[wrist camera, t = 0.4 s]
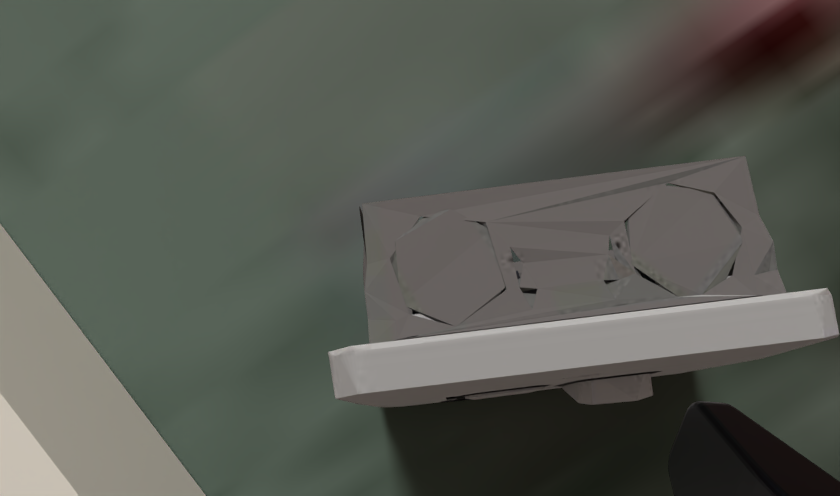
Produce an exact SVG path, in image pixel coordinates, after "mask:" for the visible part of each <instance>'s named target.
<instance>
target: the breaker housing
mask: <svg viewBox="0 0 840 496" xmlns="http://www.w3.org/2000/svg"><path fill="white" fill-rule="evenodd" d="M0 496H206V495H205V494H204V493H203V491H202V490H201V489H200V487H199V486H198V485H197V483H196V482H195V481H194V479H193V478H192V477H191V475H190V474H189V473H188V471H187V470H186V469H185V467H184V466H183V465H182V464H181V462H180V461H179V460H178V458H177V457H176V456H175V454H174V453H173V452H172V450H171V449H170V448H169V446H168V445H167V444H166V442H165V441H164V440H163V438H162V437H161V436H160V434H159V433H158V432H157V430H156V429H155V428H154V426H153V425H152V424H151V422H150V421H149V420H148V419H147V417H146V416H145V415H144V413H143V412H142V411H141V409H140V408H139V407H138V405H137V404H136V403H135V401H134V400H133V399H132V397H131V396H130V395H129V393H128V392H127V391H126V389H125V388H124V387H123V385H122V384H121V383H120V381H119V380H118V379H117V378H116V376H115V375H114V374H113V372H112V371H111V370H110V368H109V367H108V366H107V364H106V363H105V362H104V360H103V359H102V358H101V356H100V355H99V354H98V352H97V351H96V350H95V348H94V347H93V346H92V344H91V343H90V342H89V340H88V339H87V338H86V336H85V335H84V334H83V333H82V331H81V330H80V329H79V327H78V326H77V325H76V323H75V322H74V321H73V319H72V318H71V317H70V315H69V314H68V313H67V311H66V310H65V309H64V307H63V306H62V305H61V303H60V302H59V301H58V299H57V298H56V297H55V295H54V294H53V293H52V292H51V290H50V289H49V288H48V286H47V285H46V284H45V282H44V281H43V280H42V278H41V277H40V276H39V274H38V273H37V272H36V270H35V269H34V268H33V266H32V265H31V264H30V262H29V261H28V260H27V258H26V257H25V256H24V254H23V253H22V252H21V250H20V249H19V248H18V247H17V245H16V244H15V243H14V241H13V240H12V239H11V237H10V236H9V235H8V233H7V232H6V231H5V229H4V228H3V227H2V225H1V224H0Z"/></svg>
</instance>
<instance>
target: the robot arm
mask: <svg viewBox="0 0 840 496" xmlns="http://www.w3.org/2000/svg"><path fill="white" fill-rule="evenodd" d="M668 469H669V476H670V481H671V485H672V489H673V493H674V496H840V482H839V481H838V480H837V479H835V478H834V477H832V476H831V475H829V474H828V473H827V472H825V471H824V470H822V469H821V468H820V467H818V466H817V465H815V464H814V463H812V462H811V461H810V460H808V459H807V458H805V457H804V456H803V455H801V454H800V453H798V452H797V451H795V450H794V449H793V448H791V447H790V446H788V445H787V444H786V443H784V442H783V441H781V440H780V439H778V438H777V437H776V436H774V435H773V434H771V433H770V432H769V431H767V430H766V429H764V428H763V427H761V426H760V425H759V424H757V423H756V422H754V421H753V420H752V419H750V418H749V417H747V416H746V415H744V414H743V413H742V412H740V411H739V410H737V409H736V408H734V407H733V406H731V405H729V404H726V403H717V402H702V401H698V402H695V403H693V404H691V405H690V406H689V407H688V409H687V411H686V413H685V416H684V418H683V421H682V423H681V426H680V428H679V431H678V433H677V436H676V439H675V441H674V444H673V446H672V449H671V451H670V455H669V461H668Z"/></svg>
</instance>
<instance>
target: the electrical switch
mask: <svg viewBox="0 0 840 496" xmlns="http://www.w3.org/2000/svg"><path fill="white" fill-rule="evenodd" d="M667 183H670V184H673V185H676V186H679V187H674V186H665V185H666V184H667ZM359 209H360V207H359ZM362 209H363V214H362V211H361V209H360V216H361V223H362V231H363V238H364V262H363V277H364V292H365V300H366V308H367V315H368V328H369V344H365V345H356V346H349V347H345V348H342V349H338V350H334V351H330V352H328V355H329V360H330V366H331V373H332V379H333V386H334V393H335V399H339V400H343V401H348V402H352V403H356V404H362V405H369V406H376V407H403V406H412V405H421V404H430V403H438V402H452V401H462V400H470V399H472V400H477V399H484V398H492V397H499V396H507V395H515V394H523V393H530V392H534V391H539V390H547V389H555V388H563V390H564V391H566V392H567V393H568V394H569V395H570V396H571V397H572V398H573V399H574V400H576V401H577V402H578V403H581V404H589V405H595V404H606V403H617V402H628V401H638V400H641V399H644V398H647V397H650V396H653V390H652V382H651V377H655V376H663V375H671V374H679V373H685V372H690V371H695V370H701V369H707V368H712V367H718V366H723V365H729V364H734V363H740V362H746V361H751V360H757V359H762V358H766V357H769V356H773V355H776V354H780V353H783V352H787V351H790V350H794V349H797V348H801V347H804V346H808V345H811V344H815V343H818V342H822V341H825V340H829V339H832V338H836V337H838V335H839V331H838V325H837V320H836V315H835V310H834V304H833V299H832V295H831V293H830V292H829V290H828V288H824V289H816V290H808V291H800V292H792V293H787V292H786V290H785V287H784V285H783V282H782V280H781V277H780V275H779V272H778V270H777V263H776V256H775V249H774V242H773V240H772V238H771V236H770V234H769V232H768V231H767V229H766V227H765V225H764V223H763V221H762V220H761V218H760V216H759V212H758V207H757V203H756V199H755V194H754V190H753V186H752V181H751V177H750V173H749V168H748V164H747V160H746V156H740V157H732V158H724V159H716V160H708V161H700V162H692V163H684V164H676V165H668V166H660V167H652V168H644V169H636V170H628V171H620V172H612V173H604V174H596V175H588V176H580V177H572V178H564V179H556V180H548V181H540V182H532V183H524V184H516V185H508V186H500V187H491V188H483V189H475V190H467V191H459V192H451V193H443V194H435V195H427V196H419V197H411V198H403V199H395V200H387V201H379V202H371V203H363V204H362ZM420 216H423V218H422V219H421V220H420V221H418V220H419V218H420ZM627 220H628V224H627V232H626V228H625V222H626V221H627ZM417 221H418V222H417ZM475 221H477V222H478V223H477V222H475ZM609 236H610V240H611V244H612V248H613V250H609ZM510 248H511V249H512V250H513V251H514V252H515V254H516V255H517V256H518V257H519V258H520V260H521V261H520V262H513V258H512V254H511V249H510Z"/></svg>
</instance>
